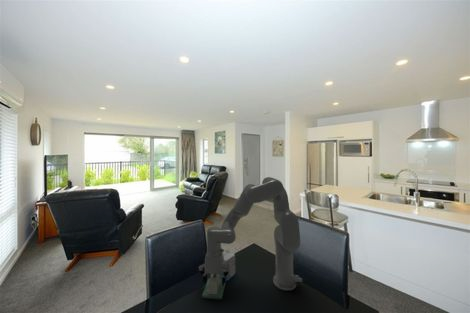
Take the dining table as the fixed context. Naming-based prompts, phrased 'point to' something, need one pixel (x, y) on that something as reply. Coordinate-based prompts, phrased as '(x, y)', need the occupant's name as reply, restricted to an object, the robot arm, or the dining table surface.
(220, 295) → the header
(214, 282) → the white switch box
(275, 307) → the dining table surface
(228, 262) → the ink box
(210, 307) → the dining table surface
